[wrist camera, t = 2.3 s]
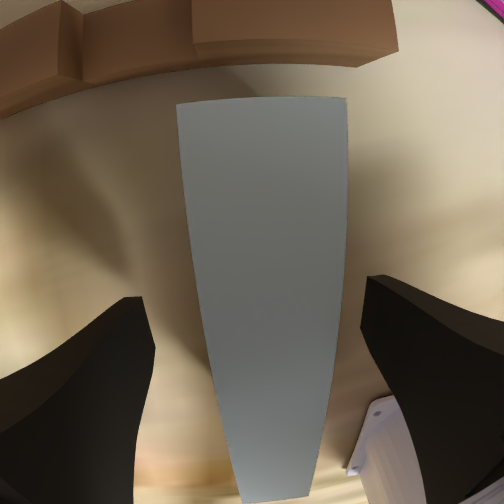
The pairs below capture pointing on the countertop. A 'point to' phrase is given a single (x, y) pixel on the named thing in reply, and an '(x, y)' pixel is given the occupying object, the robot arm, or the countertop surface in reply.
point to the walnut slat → (181, 41)
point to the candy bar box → (494, 7)
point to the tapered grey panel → (268, 273)
